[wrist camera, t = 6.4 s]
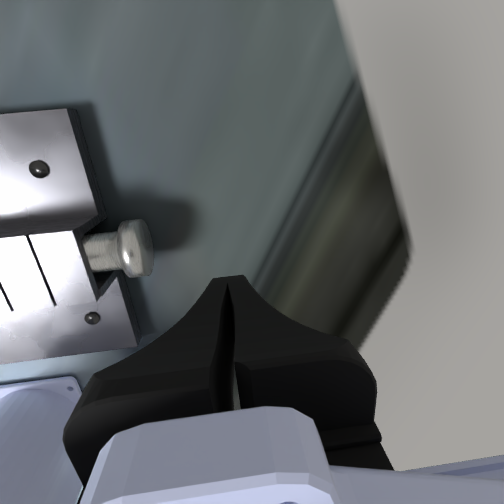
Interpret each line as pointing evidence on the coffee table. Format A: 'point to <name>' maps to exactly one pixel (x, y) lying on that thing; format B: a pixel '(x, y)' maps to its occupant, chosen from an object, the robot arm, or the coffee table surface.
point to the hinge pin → (121, 249)
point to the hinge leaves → (54, 245)
